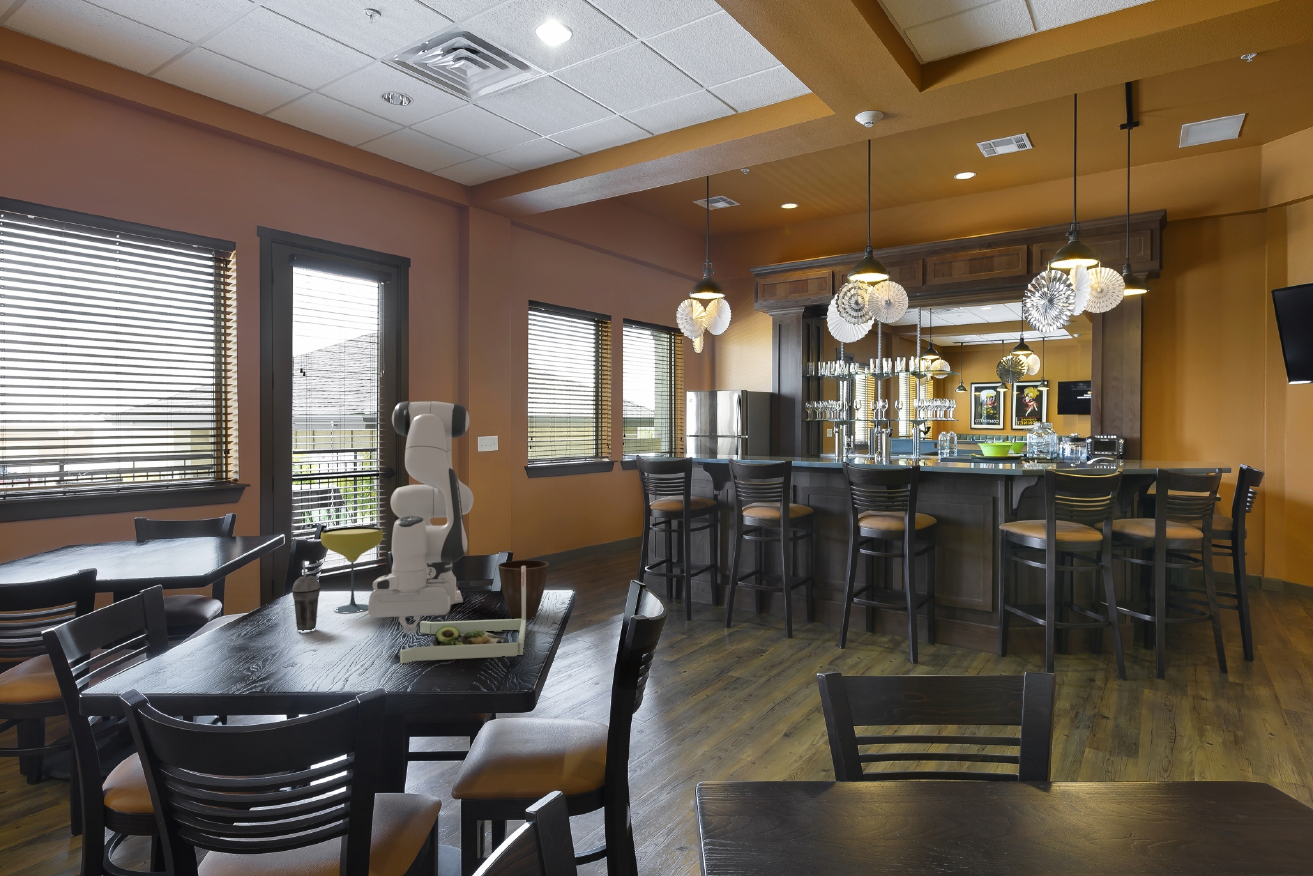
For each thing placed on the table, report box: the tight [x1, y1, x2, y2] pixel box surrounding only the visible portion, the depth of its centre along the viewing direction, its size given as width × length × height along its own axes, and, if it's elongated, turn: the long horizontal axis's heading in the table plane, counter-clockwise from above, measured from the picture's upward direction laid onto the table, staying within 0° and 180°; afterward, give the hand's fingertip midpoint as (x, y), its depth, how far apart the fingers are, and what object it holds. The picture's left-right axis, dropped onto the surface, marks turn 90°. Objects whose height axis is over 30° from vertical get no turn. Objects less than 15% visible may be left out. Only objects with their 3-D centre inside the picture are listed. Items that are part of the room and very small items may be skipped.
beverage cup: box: [291, 560, 321, 631], centre depth 199 cm, size 7×7×20 cm
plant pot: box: [497, 559, 549, 620], centre depth 213 cm, size 15×15×16 cm
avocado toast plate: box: [429, 626, 508, 646], centre depth 185 cm, size 19×18×5 cm
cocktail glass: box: [320, 526, 384, 613], centre depth 223 cm, size 18×18×25 cm
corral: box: [399, 566, 527, 664], centre depth 186 cm, size 28×29×18 cm
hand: (410, 632), depth 184 cm, fingers closed
